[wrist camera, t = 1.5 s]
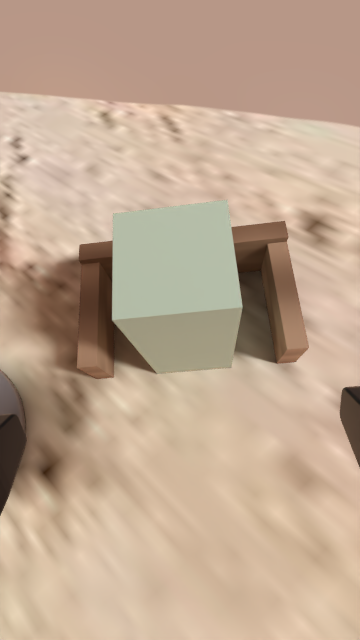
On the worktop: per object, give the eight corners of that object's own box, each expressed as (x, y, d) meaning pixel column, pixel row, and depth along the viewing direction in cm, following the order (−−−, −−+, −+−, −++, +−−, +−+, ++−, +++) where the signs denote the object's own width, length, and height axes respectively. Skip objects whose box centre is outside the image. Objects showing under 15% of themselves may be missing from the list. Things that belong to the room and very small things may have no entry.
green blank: (231, 367, 22) (242, 307, 12) (157, 373, 23) (112, 320, 13) (222, 299, 24) (227, 199, 14) (154, 306, 24) (113, 213, 15)
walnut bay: (295, 362, 22) (311, 345, 18) (96, 378, 23) (73, 366, 19) (274, 254, 25) (284, 221, 21) (99, 273, 26) (79, 244, 22)
